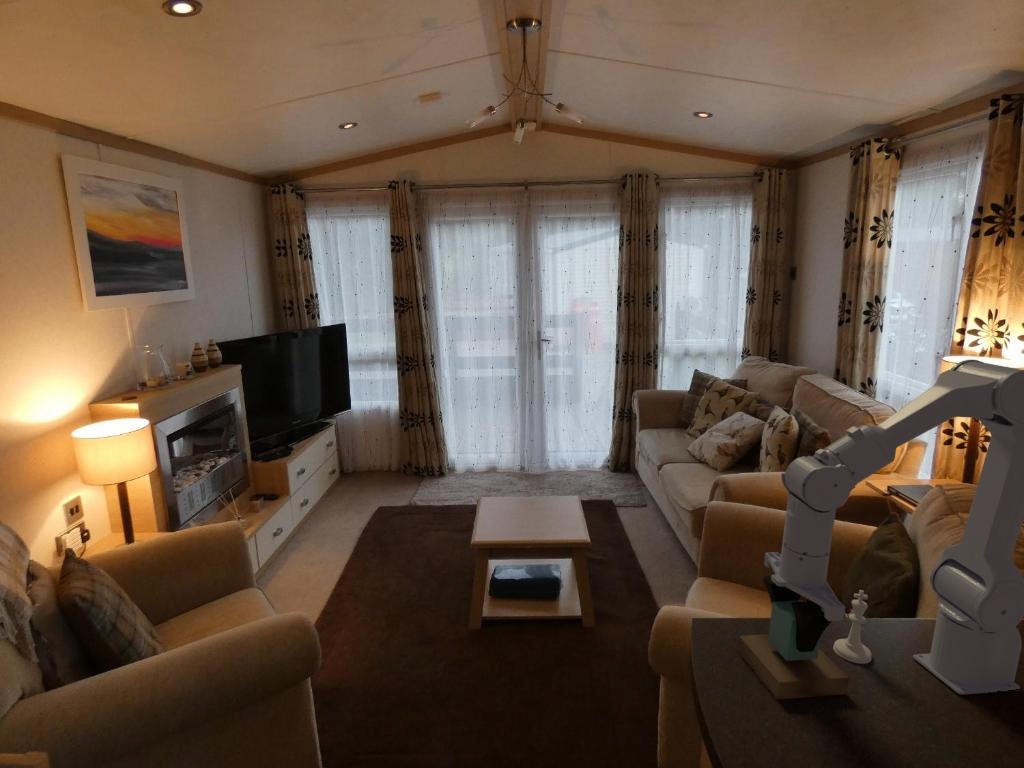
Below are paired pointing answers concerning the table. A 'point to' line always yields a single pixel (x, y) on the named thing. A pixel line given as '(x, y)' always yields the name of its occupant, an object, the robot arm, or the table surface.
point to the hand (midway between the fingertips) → (793, 638)
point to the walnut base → (792, 671)
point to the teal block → (787, 632)
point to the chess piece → (855, 635)
